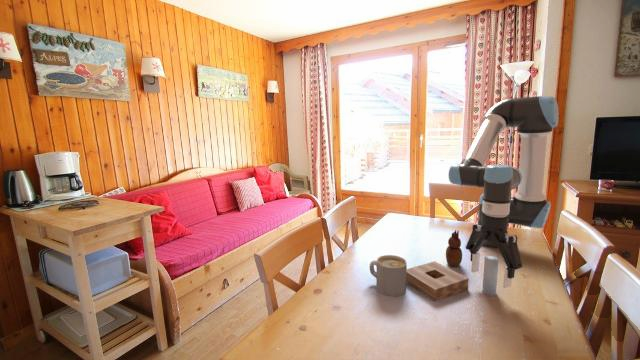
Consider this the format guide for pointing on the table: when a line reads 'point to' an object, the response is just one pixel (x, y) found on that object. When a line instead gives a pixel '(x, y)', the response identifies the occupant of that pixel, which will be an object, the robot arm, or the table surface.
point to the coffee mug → (390, 274)
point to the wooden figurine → (454, 250)
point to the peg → (490, 275)
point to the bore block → (436, 280)
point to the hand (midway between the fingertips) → (490, 278)
